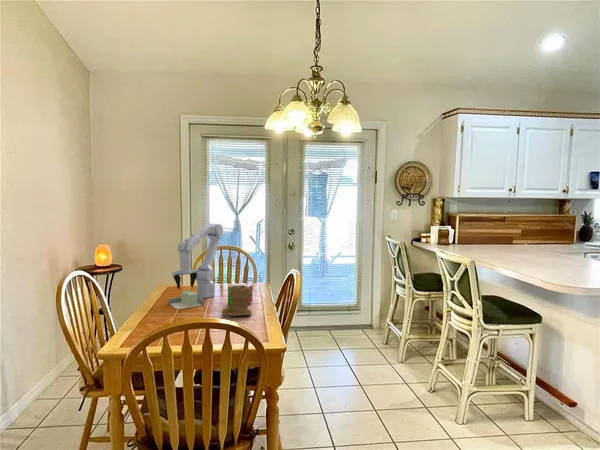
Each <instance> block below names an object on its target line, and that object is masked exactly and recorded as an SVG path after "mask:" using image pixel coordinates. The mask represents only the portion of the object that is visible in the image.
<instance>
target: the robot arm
mask: <svg viewBox="0 0 600 450" xmlns="http://www.w3.org/2000/svg"><path fill="white" fill-rule="evenodd" d="M223 228H224V227H223V225H222V224H221V223H210V222H207V223H205V224H204V225H203V227H202V228H201V229H200V230H199V231H198V232H197V233H194V234H193V233H191V234H190V236H188V237H187V238H186V239H185V240H183V241H180V242H179V243H178V245H177V248H176V249H177V251H178V255H179V270H177V271H172V272H171V276H172V277H173V279H174V281H175V284H176V288H177V289H179V290H180V289H181V279H182V277H181V276H184V275H189V280H190V287H191V288H193V287H194V285H195V281H196V285H197V287H196V288H197V289H196V293H197V296H198V297H200V298H202V299H207V298H212V297H215V283H214V281H213V278H214V272H215V271H214V269H213V267H212V266H213V262H214V259H215V257H216V256H215V255H216V253H217V250H218V246H219V244H220V241H221V238H222V235H223V232H224V229H223ZM206 236H207V237H208V239H209V240H210V241H209V243H208V246H207V249H206V252H205V255H204V258H203V261H202V264H200V265H199V266H198V267H197V268H196V269H192V266H191V265H192V263H191V260H192V257H191V253H192V252H193V250H194V248H195V246H197V245H198V244H199V243H201V239H202V238H204V237H206Z"/></svg>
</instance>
